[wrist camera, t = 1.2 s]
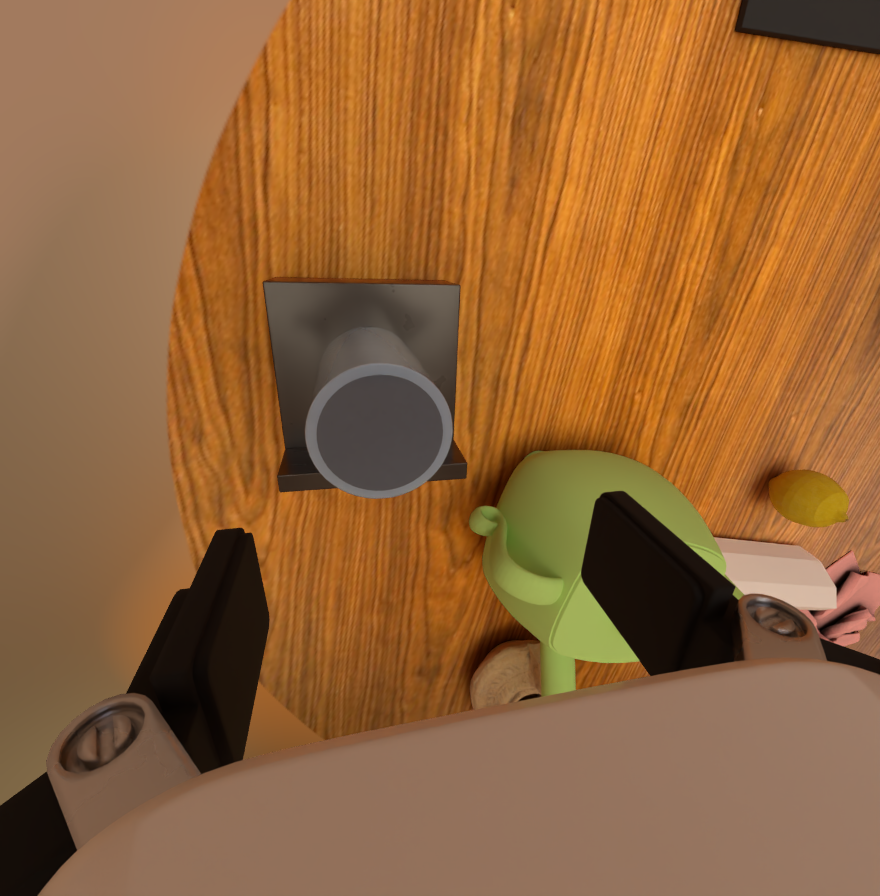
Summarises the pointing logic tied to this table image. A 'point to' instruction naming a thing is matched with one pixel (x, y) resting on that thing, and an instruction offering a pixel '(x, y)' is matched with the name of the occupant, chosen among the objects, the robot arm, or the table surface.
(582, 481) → the teapot
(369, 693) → the table surface
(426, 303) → the shelf
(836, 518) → the fruit
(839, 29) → the mat
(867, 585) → the cloth
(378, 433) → the blue cup
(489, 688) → the tan rounded lump
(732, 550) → the crystal
